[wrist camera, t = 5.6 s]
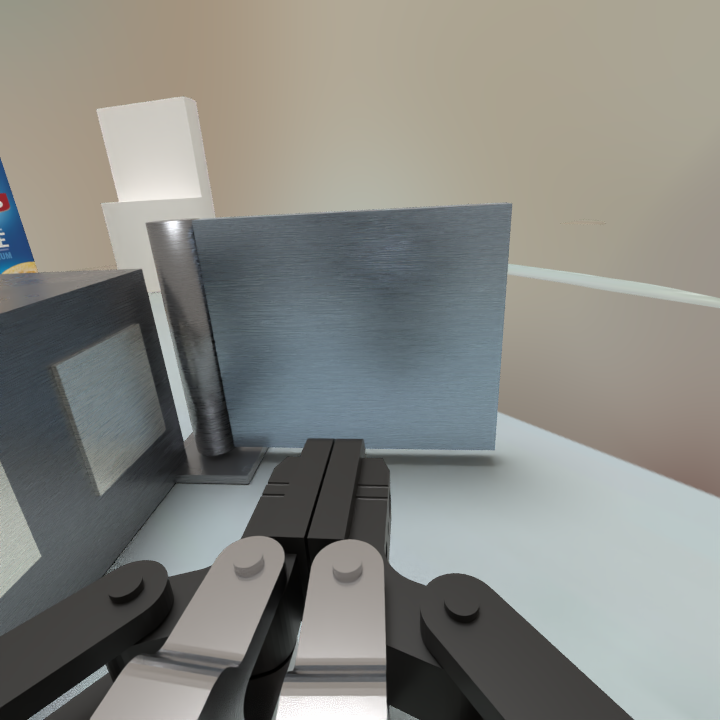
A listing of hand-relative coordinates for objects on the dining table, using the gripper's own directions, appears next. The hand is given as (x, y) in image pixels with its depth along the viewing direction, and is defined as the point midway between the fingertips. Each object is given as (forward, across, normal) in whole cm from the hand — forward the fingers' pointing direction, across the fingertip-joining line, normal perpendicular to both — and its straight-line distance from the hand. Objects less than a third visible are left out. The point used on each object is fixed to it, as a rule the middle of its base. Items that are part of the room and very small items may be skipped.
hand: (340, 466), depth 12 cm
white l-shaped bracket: (+64, -40, -7) cm, 76 cm away
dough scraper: (+11, -2, -6) cm, 12 cm away
